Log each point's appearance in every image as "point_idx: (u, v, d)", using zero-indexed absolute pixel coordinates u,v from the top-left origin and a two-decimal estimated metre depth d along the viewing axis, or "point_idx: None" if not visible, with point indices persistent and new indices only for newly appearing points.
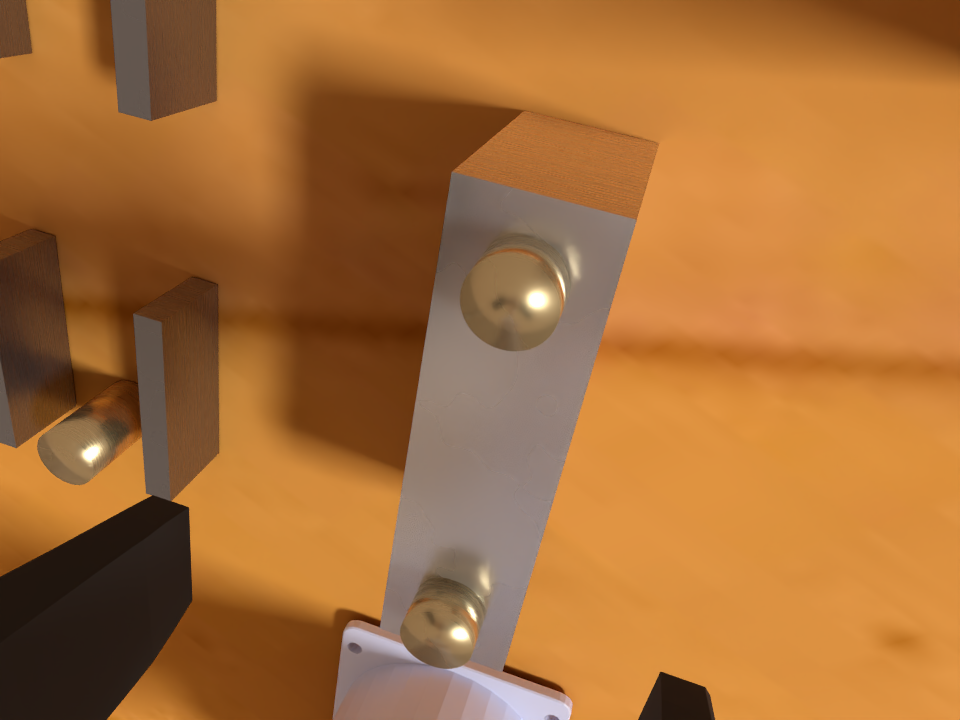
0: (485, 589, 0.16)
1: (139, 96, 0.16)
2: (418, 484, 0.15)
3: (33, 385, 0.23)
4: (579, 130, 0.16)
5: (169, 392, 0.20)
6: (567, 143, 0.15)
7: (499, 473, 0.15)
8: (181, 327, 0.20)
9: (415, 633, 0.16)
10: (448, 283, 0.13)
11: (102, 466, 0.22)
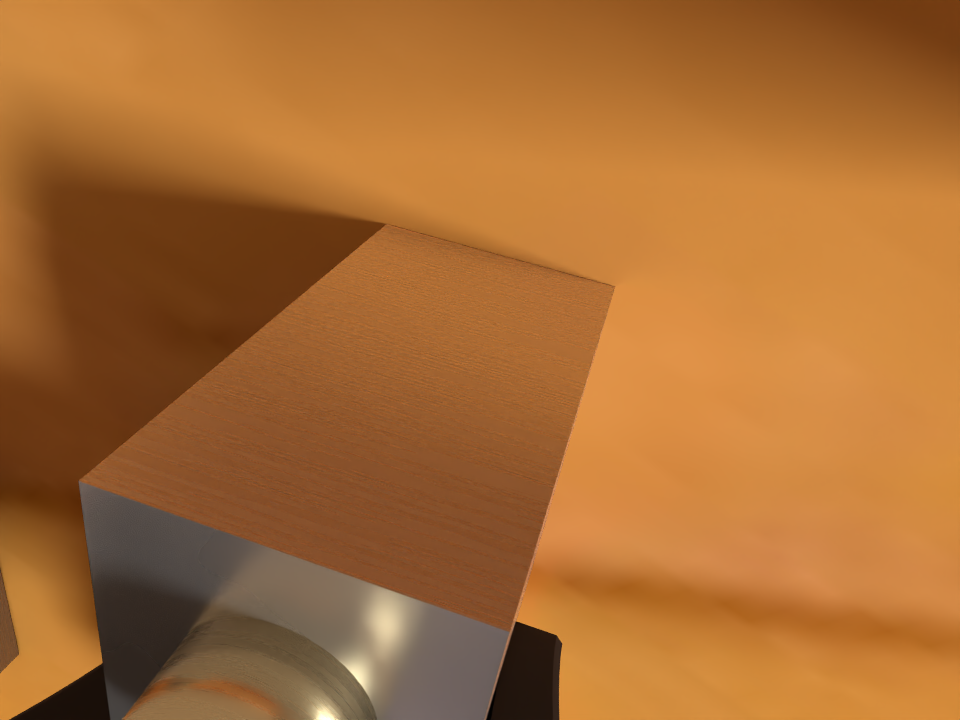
0: None
1: None
2: None
3: None
4: (470, 272, 0.09)
5: None
6: (431, 317, 0.08)
7: None
8: None
9: None
10: (130, 674, 0.06)
11: None
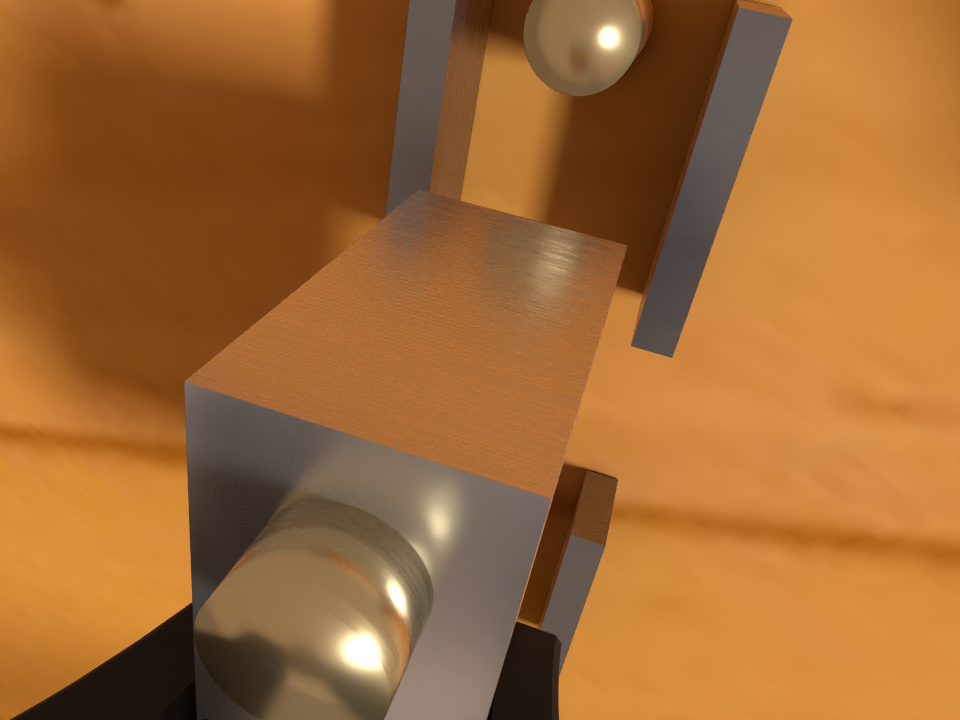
0: None
1: (666, 333, 0.14)
2: None
3: None
4: (497, 230, 0.10)
5: None
6: (465, 266, 0.09)
7: None
8: None
9: None
10: (215, 562, 0.07)
11: None
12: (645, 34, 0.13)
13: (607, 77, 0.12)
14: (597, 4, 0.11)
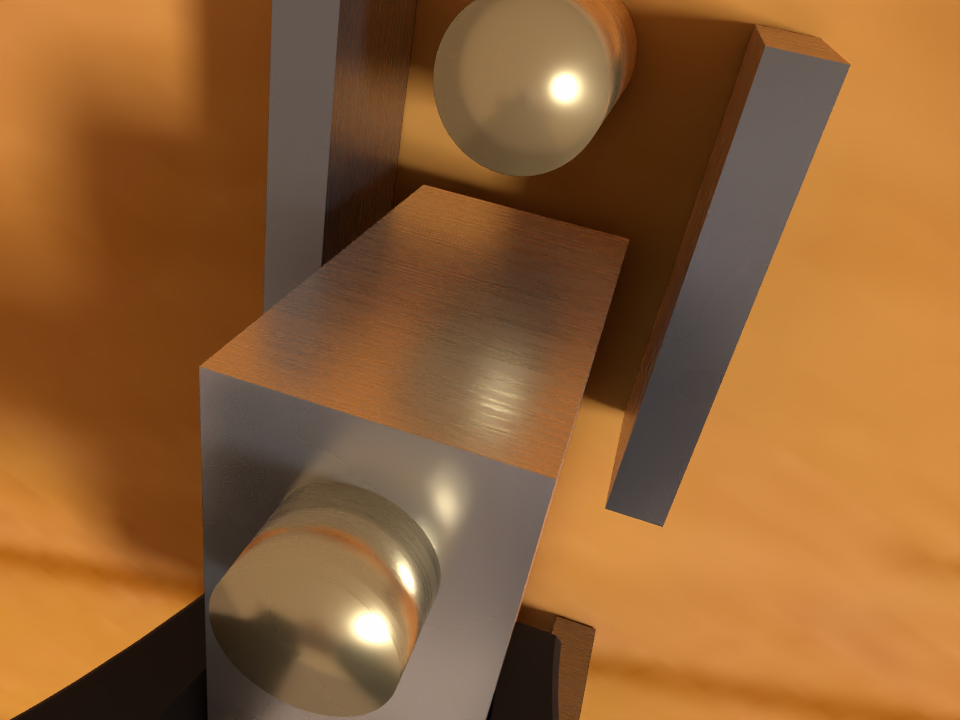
0: None
1: (654, 496, 0.10)
2: None
3: None
4: (501, 224, 0.10)
5: None
6: (470, 258, 0.09)
7: None
8: None
9: None
10: (227, 545, 0.07)
11: None
12: (622, 79, 0.09)
13: (561, 150, 0.08)
14: (543, 40, 0.07)
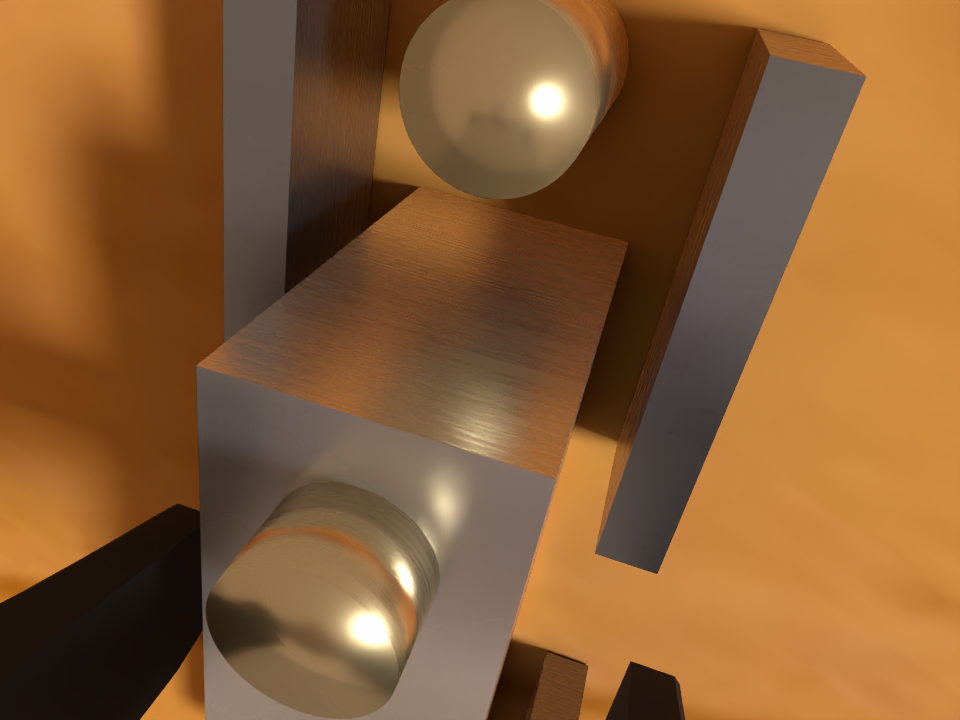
0: None
1: (647, 541, 0.09)
2: None
3: None
4: (501, 223, 0.10)
5: None
6: (470, 257, 0.09)
7: None
8: None
9: None
10: (224, 545, 0.07)
11: None
12: (611, 90, 0.08)
13: (542, 170, 0.07)
14: (520, 49, 0.06)
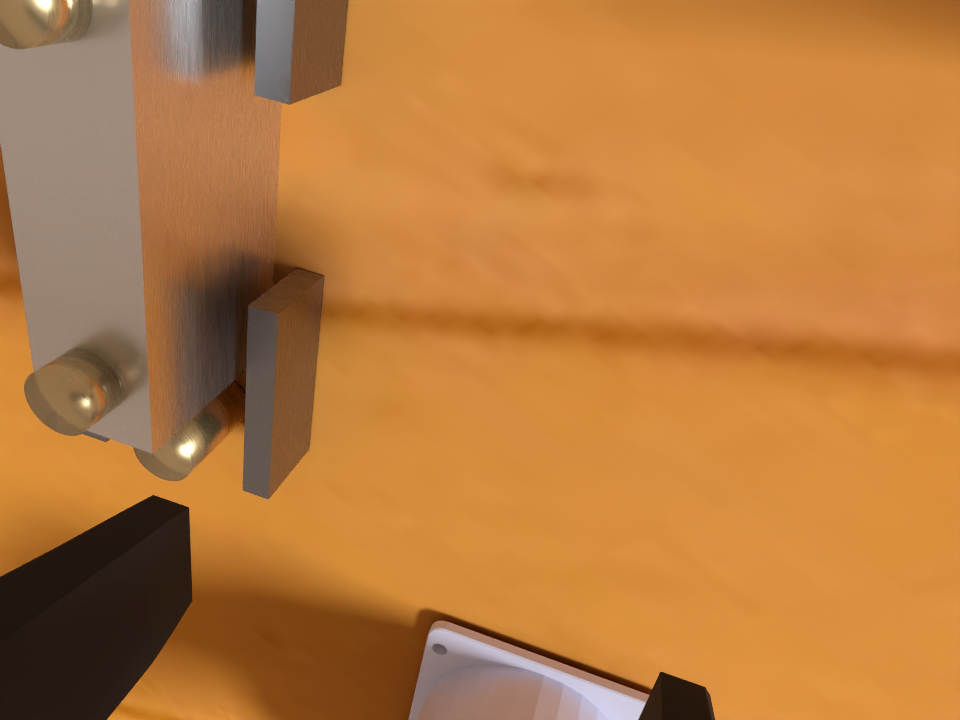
0: (114, 358, 0.16)
1: (279, 78, 0.15)
2: (27, 240, 0.15)
3: None
4: None
5: (277, 387, 0.19)
6: None
7: (89, 220, 0.15)
8: (292, 320, 0.19)
9: (38, 397, 0.16)
10: None
11: (199, 462, 0.21)
12: None
13: None
14: None
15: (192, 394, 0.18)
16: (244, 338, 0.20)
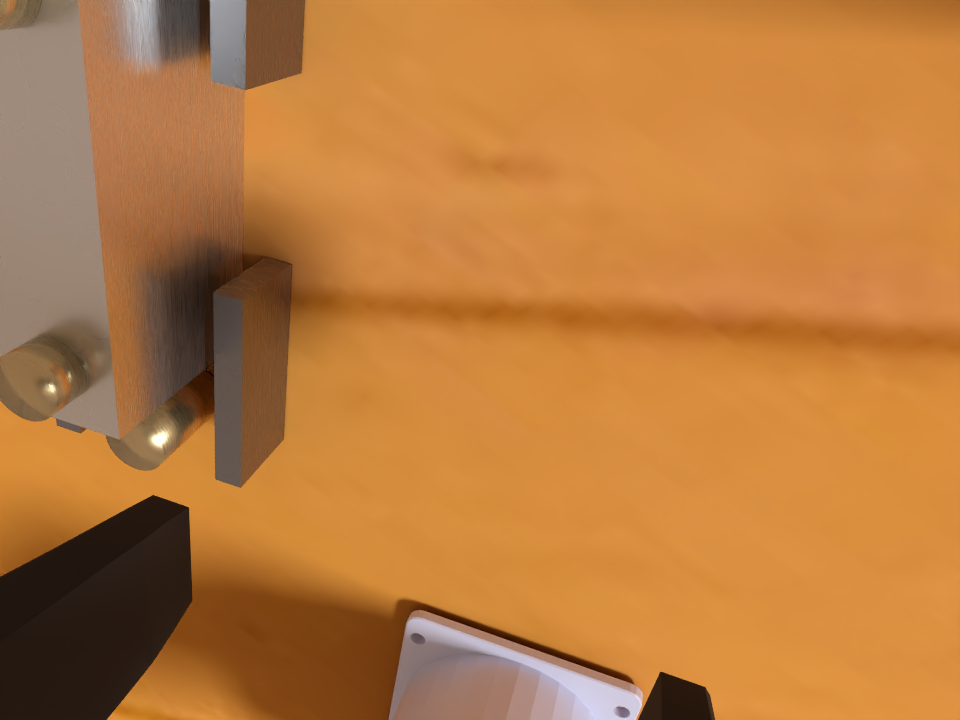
0: (78, 344, 0.17)
1: (234, 64, 0.16)
2: None
3: None
4: None
5: (245, 374, 0.20)
6: None
7: (49, 205, 0.15)
8: (259, 307, 0.19)
9: (3, 383, 0.16)
10: None
11: (171, 451, 0.21)
12: None
13: None
14: None
15: (160, 381, 0.19)
16: (213, 327, 0.20)
